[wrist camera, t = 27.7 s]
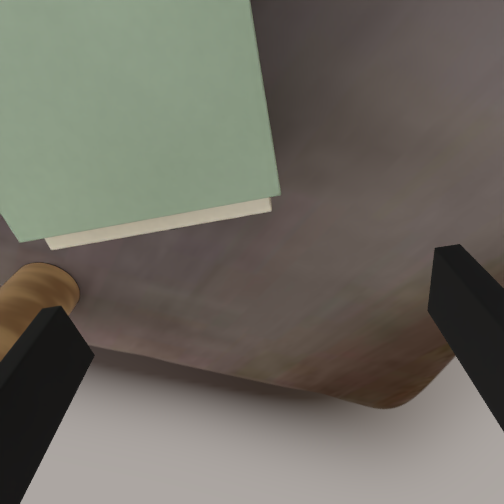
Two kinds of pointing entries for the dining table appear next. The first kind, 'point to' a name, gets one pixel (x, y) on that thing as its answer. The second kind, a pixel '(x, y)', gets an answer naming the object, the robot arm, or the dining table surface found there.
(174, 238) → the dining table surface
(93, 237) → the drawer
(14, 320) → the pepper mill
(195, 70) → the cabinet
